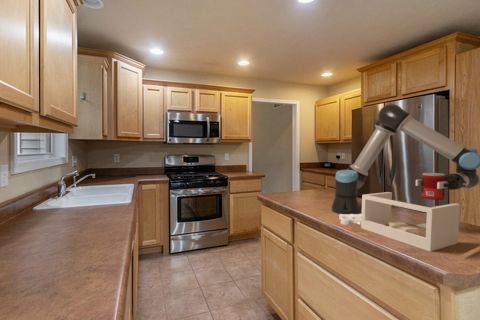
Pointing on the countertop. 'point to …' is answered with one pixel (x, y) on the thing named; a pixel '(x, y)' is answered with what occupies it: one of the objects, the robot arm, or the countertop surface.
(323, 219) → the countertop surface
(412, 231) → the offcut top
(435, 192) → the canned food
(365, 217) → the rack
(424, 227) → the mat
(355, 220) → the white brass knuckles
